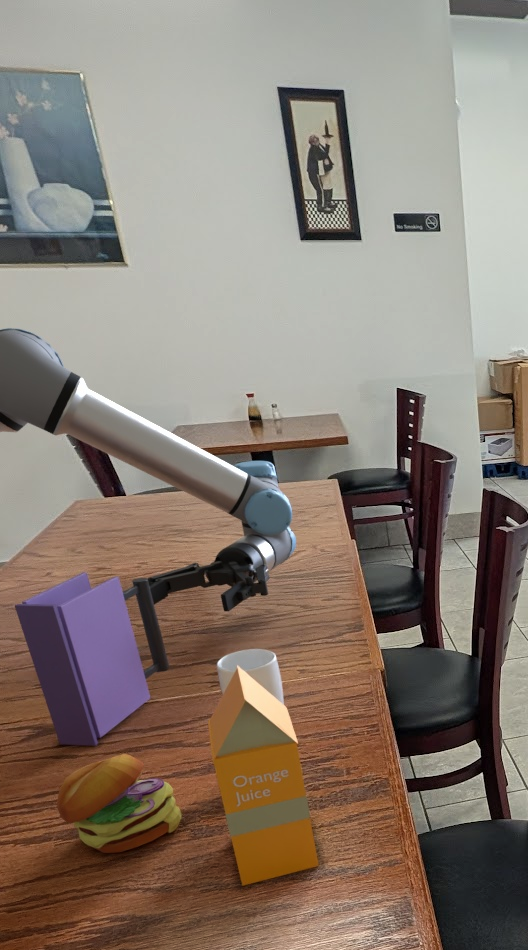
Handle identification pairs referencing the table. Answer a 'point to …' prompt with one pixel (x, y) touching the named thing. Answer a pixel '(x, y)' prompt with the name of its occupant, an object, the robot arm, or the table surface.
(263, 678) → the drinking glass
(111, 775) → the cheeseburger
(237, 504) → the robot arm
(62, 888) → the table surface
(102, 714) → the folder cover
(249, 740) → the orange juice
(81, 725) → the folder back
